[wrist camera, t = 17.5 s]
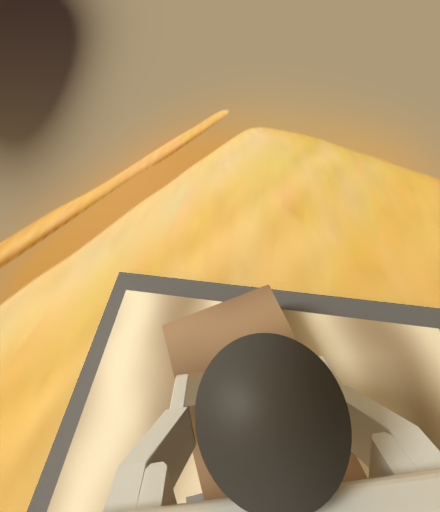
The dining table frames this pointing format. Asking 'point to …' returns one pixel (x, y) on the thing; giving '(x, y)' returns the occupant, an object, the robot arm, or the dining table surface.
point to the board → (162, 382)
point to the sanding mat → (206, 292)
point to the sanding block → (262, 408)
